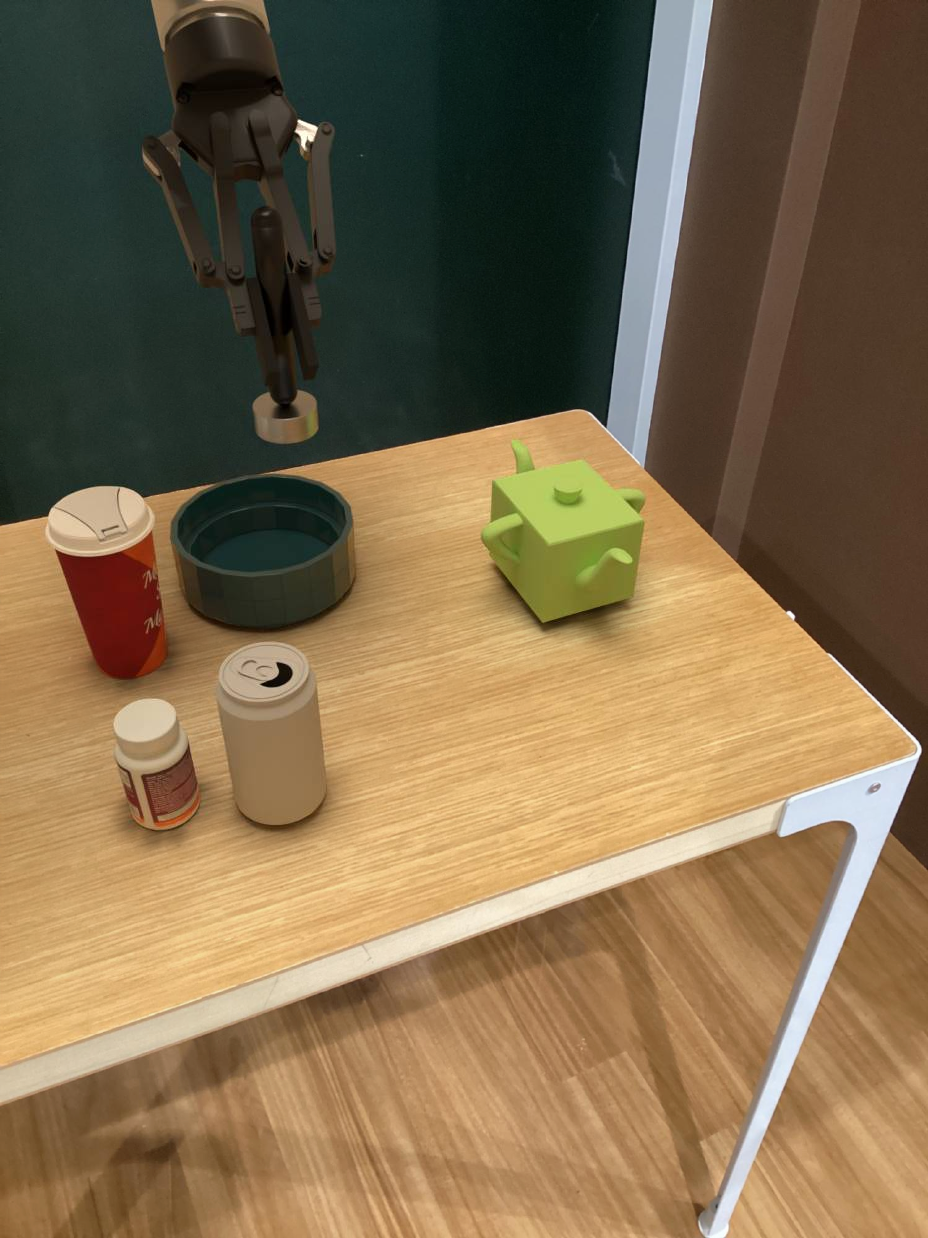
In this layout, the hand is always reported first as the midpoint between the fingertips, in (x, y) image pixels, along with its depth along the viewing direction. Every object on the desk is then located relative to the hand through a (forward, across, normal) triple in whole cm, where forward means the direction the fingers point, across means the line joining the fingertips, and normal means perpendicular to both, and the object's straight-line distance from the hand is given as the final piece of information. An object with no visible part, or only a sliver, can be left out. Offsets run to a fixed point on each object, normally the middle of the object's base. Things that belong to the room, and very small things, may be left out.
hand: (291, 375), depth 72 cm
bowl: (+10, +2, -24) cm, 26 cm away
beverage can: (+28, +6, -7) cm, 29 cm away
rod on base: (+2, 0, -7) cm, 7 cm away
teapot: (+16, -22, -18) cm, 33 cm away
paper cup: (+15, +14, -20) cm, 29 cm away
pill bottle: (+26, +14, -8) cm, 31 cm away
